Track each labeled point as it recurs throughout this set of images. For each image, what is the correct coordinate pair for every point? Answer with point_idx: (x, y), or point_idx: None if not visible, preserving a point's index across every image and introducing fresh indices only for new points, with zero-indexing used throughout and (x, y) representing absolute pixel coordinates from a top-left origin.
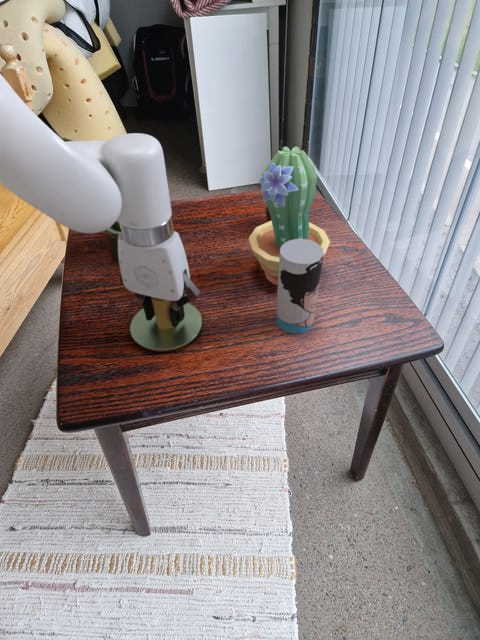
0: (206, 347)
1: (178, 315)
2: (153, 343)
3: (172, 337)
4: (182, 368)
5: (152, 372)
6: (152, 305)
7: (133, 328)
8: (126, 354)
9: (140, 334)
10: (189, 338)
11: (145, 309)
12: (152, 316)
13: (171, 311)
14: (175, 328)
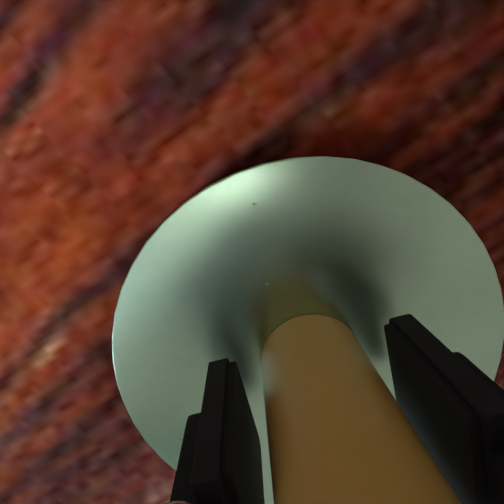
0: (52, 346)
1: (190, 453)
2: (268, 208)
3: (208, 300)
4: (40, 175)
5: (149, 56)
6: (434, 428)
7: (450, 232)
8: (369, 76)
9: (383, 220)
10: (127, 343)
11: (454, 372)
12: (392, 353)
13: (202, 474)
14: (242, 357)
